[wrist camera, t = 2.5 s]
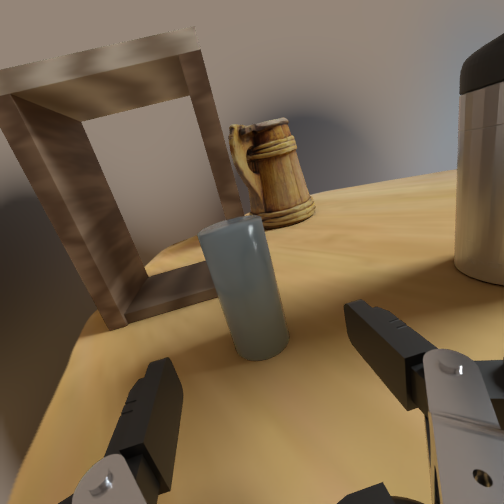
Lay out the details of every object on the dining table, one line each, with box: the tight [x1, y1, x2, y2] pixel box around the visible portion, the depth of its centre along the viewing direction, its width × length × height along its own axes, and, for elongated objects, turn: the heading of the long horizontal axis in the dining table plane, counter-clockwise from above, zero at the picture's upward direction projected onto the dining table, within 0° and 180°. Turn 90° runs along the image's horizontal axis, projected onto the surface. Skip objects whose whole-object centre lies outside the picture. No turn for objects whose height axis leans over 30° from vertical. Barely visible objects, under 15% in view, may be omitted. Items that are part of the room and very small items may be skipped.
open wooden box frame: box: [0, 26, 244, 331], centre depth 36 cm, size 22×14×30 cm, turn 99°
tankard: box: [229, 118, 315, 229], centre depth 63 cm, size 18×24×25 cm
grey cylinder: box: [197, 215, 289, 361], centre depth 22 cm, size 6×6×12 cm
